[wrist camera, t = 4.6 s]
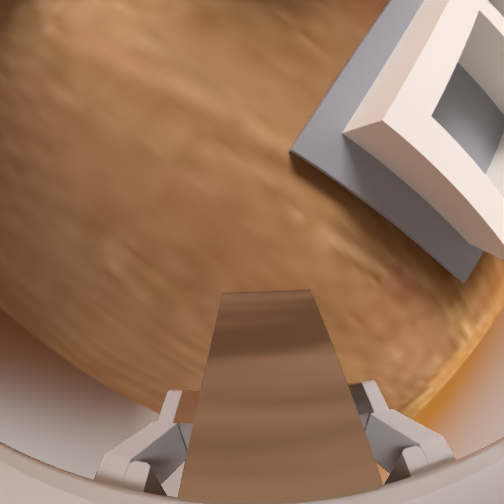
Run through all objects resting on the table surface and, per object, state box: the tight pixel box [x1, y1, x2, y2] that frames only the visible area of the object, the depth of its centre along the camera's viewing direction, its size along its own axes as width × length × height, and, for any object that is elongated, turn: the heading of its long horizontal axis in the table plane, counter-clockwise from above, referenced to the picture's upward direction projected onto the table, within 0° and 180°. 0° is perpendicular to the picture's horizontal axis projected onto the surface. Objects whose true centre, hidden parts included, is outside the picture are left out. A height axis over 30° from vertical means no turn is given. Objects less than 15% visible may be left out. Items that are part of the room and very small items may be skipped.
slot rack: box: [289, 0, 504, 283], centre depth 8 cm, size 19×11×5 cm, turn 149°
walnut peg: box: [178, 290, 382, 504], centre depth 10 cm, size 4×4×10 cm
